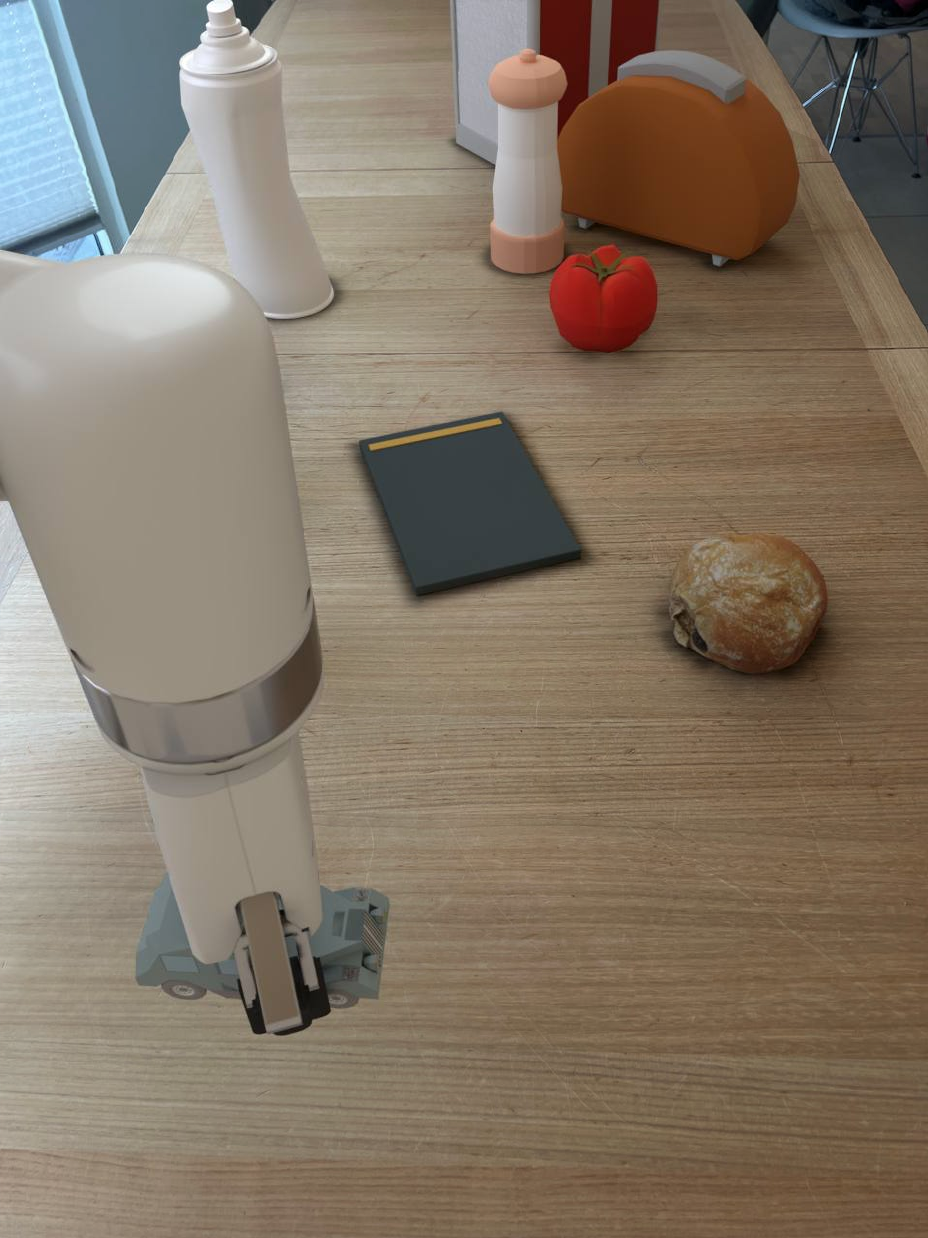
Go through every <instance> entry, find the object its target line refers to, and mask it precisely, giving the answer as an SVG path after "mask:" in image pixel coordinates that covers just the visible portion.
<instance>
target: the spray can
mask: <svg viewBox="0 0 928 1238" xmlns="http://www.w3.org/2000/svg"><path fill="white" fill-rule="evenodd" d="M206 12H207V17H208V22H207V23H206V24H205V28H206V30H205V31H203V32H202V33H201V34H200V36H199V39H200V42H201V43H200V44H199V45H198V46H196V47H197V48H194V49H192V50H189V51H188V52H185V54H183V55H182V56H181V57H180V59H179V63H178V64H179V67H180V70H179V88H180V89H179V91H180V106H181V108H182V111H183V114H184V116H185V120H186V122H187V126H188V128H189V131H190V134H191V137H192V140H193V142H194V144H195V147H196V151H197V153H198V156H199V159H200V162H201V164H202V167H203V170H204V174H205V175H206V179H207V181H208V184H209V187H210V189H211V190H210V191H211V194H212V198H213V201H214V206H215V210H216V214H217V219H218V221H219V226H220V231H221V235H222V240H223V243H224V247H225V252H226V255H227V260H228V263H229V264H228V265H229V268H230V271H231V274H232V276H233V278H234V279H235V280H236V281H238V282H239V283H240V284H241V285H242V286H243V287H244V288H245V289H246V290H247V291H248V292H249V293H250V294H251V295H252V297H253V298H254V299H255V300H256V301H257V303H258V304H259V306H260V308H261V309H262V311H263V312H264V314H265V317H266V318H267V319H268V318H269V319H274V320H275V319H276V320H293V319H299V318H304V317H309V316H312V315H315V314H316V313H319V312H321V311H323V310H324V309H326V308H327V307H328V306H329V305H331V303H332V301H333V300H334V297H335V292H334V288H333V286H332V283H331V280H330V277H329V274H328V271H327V268H326V265H325V262H324V259H323V256H322V253H321V252H320V251H321V250H320V249H319V246H318V243H317V241H316V239H315V236H314V234H313V231H312V229H311V226H310V223H309V221H308V218H307V216H306V213H305V211H304V209H303V205H302V203H301V201H300V198H299V195H298V194H297V190H296V188H295V186H294V183H293V180H292V178H291V170H290V162H289V161H290V160H289V153H288V142H287V133H286V123H285V122H286V121H285V113H284V104H283V65H282V63H281V61H280V60H279V54H278V52H277V50H276V49H275V48H273V47H271V46H270V45H266V44H263V43H261V42H259V40H257V39H256V38H254V37H252V36H250V33H251V32H250V30H249V29H248V28H247V27H245V26H242V21H241V19H240V18H237V17H236V13H235V7H234V2H233V0H212V1H210V2H208V3H207V5H206Z"/></svg>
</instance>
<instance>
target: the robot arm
mask: <svg viewBox="0 0 928 1238" xmlns="http://www.w3.org/2000/svg"><path fill="white" fill-rule="evenodd" d="M281 375H282V374H281V369H280V362H279V358H278V353H277V348H276V343H275V339H274V334H273V330H272V328H271V326H270V324H269V321H268V318H267V317H265V314H264V312H263V311H262V309H261V308H260V306H259V304H258V303H257V301H256V300H255V299H254V298H253V297H252V295H251V294H250V293H249V292H248V291H247V290H246V289H245V288H244V287H243V286H242V285H241V284H240V283H239V282H238V281H236V280H235V279H234V277H232V276H230V275H229V274H227V273H226V272H225V271H222V270H220V269H218V268H216V267H213V266H212V265H209V264H206V263H204V262H202V261H199V260H195V259H192V258H190V257H189V258H188V257H185V256H180V255H173V254H168V253H155V252H124V253H123V252H122V253H112V254H103V255H97V256H92V257H86V258H81V259H77V260H73V261H70V262H66V261H62V260H61V261H60V260H56V259H49V258H44V257H37V256H32V255H27V254H22V253H19V252H13V251H10V250H4V249H0V503H1V502H8V503H9V506H10V509H11V511H12V513H13V516H14V518H15V521H16V524H17V526H18V529H19V532H20V534H21V536H22V540H23V542H24V544H25V547H26V549H27V552H28V554H29V557H30V559H31V562H32V565H33V567H34V570H35V572H36V575H37V577H38V580H39V583H40V585H41V587H42V591H43V592H44V595H45V597H46V600H47V603H48V606H49V607H50V610H51V612H52V614H53V615H52V616H53V618H54V620H55V622H56V626H57V628H58V630H59V633H60V635H61V638H62V640H63V643H64V646H65V648H66V651H67V653H68V655H69V657H70V659H71V662H72V665H73V668H74V670H75V672H76V675H77V678H78V680H79V683H80V684H81V688H82V690H83V693H84V695H85V697H86V700H87V703H88V705H89V708H90V710H91V713H92V716H93V719H94V722H95V724H96V726H97V728H98V730H99V732H100V734H101V736H102V738H103V739H104V740H105V742H106V743H107V744H108V745H109V746H110V748H112V750H114V751H116V753H118V754H119V755H120V756H122V758H124V759H126V760H127V761H130V763H131V762H132V763H133V764H136V765H137V766H138V767H139V770H140V775H141V778H142V783H143V788H144V792H145V796H146V801H147V804H148V809H149V813H150V816H151V820H152V824H153V828H154V831H155V835H156V838H157V842H158V845H159V848H160V849H159V850H160V852H161V856H162V860H163V862H164V866H165V870H166V873H168V876H169V879H170V882H171V885H172V889H173V892H174V895H175V898H176V901H177V905H178V908H179V911H180V914H181V918H182V921H183V924H184V927H185V931H186V934H187V937H188V941H189V944H190V948H191V951H192V954H193V955H194V956H195V957H196V958H197V959H198V960H199V961H201V962H202V963H204V964H212V963H217V962H222V961H227V960H229V959H230V957H231V956H232V954H233V952H234V955H235V960H236V964H237V968H238V972H239V977H240V979H237V983H238V989H239V993H240V996H241V999H240V1000H241V1002H242V1004H243V1008H244V1010H245V1013H246V1016H247V1020H248V1023H249V1025H250V1028H251V1031H252V1033H253V1034H254V1035H265V1034H267V1035H271V1034H272V1035H275V1036H277V1037H284V1036H289V1035H292V1034H297V1033H299V1032H302V1031H305V1030H306V1029H309V1027H311V1025H312V1024H313V1021H314V1020H318V1019H321V1018H324V1017H326V1016H328V1015H330V1014H331V1012H332V1008H330V1003H329V998H328V994H327V989H326V984H325V980H324V975H323V970H322V966H321V961H320V957H317V958H316V957H315V956H313V955H312V951H311V946H310V942H309V937H308V932H307V931H310V936H313V935H314V933H315V932H316V931H317V929H318V928H319V926H320V924H321V922H322V920H323V913H322V902H321V892H320V885H321V883H320V882H321V881H320V874H319V873H320V872H319V864H318V856H317V846H316V838H315V830H314V829H315V828H314V821H313V813H312V807H311V800H310V799H311V798H310V793H309V786H308V780H307V775H306V774H307V773H306V768H305V767H306V766H305V762H304V754H303V748H302V742H301V735H300V730H302V728H303V727H304V726H305V724H306V723H307V722H308V720H309V719H310V718H311V717H312V714H313V713H314V711H315V709H316V707H317V706H318V704H319V702H320V699H321V697H322V692H323V689H324V685H325V666H324V657H323V652H322V651H323V650H322V644H321V637H320V632H319V631H320V629H319V625H318V617H317V610H316V604H315V598H314V594H313V593H314V592H313V585H312V579H311V572H310V564H309V558H308V557H309V556H308V550H307V544H306V543H307V542H306V537H305V530H304V524H303V517H302V516H303V515H302V510H301V504H300V496H299V489H298V483H297V477H296V470H295V462H294V456H293V450H292V442H291V436H290V430H289V422H288V416H287V415H288V414H287V410H286V409H287V408H286V402H285V396H284V395H285V394H284V389H283V381H282V376H281ZM278 899H280V900H281V905H282V909H281V910H279V906H278V902H277V900H278ZM292 935H294V939H295V944H296V948H297V953H298V955H297V956H294V957H290V958H289V954H288V949H287V945H286V940H285V937H289V936H292ZM298 957H299V959H298Z"/></svg>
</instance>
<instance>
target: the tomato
mask: <svg viewBox="0 0 928 1238" xmlns="http://www.w3.org/2000/svg"><path fill="white" fill-rule="evenodd" d="M587 252H588V254H587V255H585V254H580V253H578V254H573V255H569V256H568V257H566V259H565V260H564V261H563V262H561V263H560V264H559V266H557V268H556V270H555V272H554V274H553V276H552V278H551V280H550V283H549V284H550V285H549V292H548V299H549V300H548V301H549V308H550V311H551V313H552V316H553V319H554V322H555V324H556V327H557V330H558V333H559V336H560V337H561V338H562V339H563V340H564V341H566V342H567V343H568V345H570V346H571V347H572V348H573V349H577V350H579V351H581V352H584V353H586V352H590V353H591V352H592V353H604V354H613V353H616V352H621V351H623V350H626V349H628V348H630V347H631V346H633V345H634V344H636V342H637V341H638V340H639V338H640V337H641V336H642V335H643V334H645V333H646V332H647V331H648V330H650V328H651V326H652V325H653V323H654V321H655V317H656V314H657V308H658V303H659V302H658V301H659V300H658V299H659V296H658V294H659V293H658V282H657V279H656V276H655V272H654V270H653V268H652V267H651V265H650V263H649V261H647V260H646V259H645V258H644V256H629V257H625V256H627V255H629V254H630V253H632V250H629V251H627V252H624V253H621V251H620V250H619V249H618V248H617V246H616V245H615V244H608V245H602V246H600V247H598V248H596V249H595V250H594V251H592V252H591V251H589V250H587Z"/></svg>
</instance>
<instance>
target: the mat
mask: <svg viewBox="0 0 928 1238" xmlns="http://www.w3.org/2000/svg"><path fill="white" fill-rule="evenodd" d="M358 445H359V450H360V452H361V455H362V458H363V460H364V464H365V465H366V468H367V471H368V473H369V476H370V479H371V481H372V484H373V486H374V488H375V492H376V494H377V496H378V500H379V502H380V504H381V507H382V510H383V513H384V515H385V517H386V520H387V523H388V525H389V528H390V530H391V533H392V535H393V538H394V541H395V543H396V547H397V549H398V551H399V555H400V556H401V559H402V562H403V564H404V567H405V569H406V573H407V575H408V578H409V580H410V583H411V585H412V588H413V590H414V593H415V595H416V596H421V595H425V594H430V593H434V592H438V591H443V590H447V589H451V588H455V587H460V586H465V585H469V584H473V583H477V582H481V581H485V580H491V579H494V578H495V579H496V578H498V577H502V576H506V575H511V574H516V573H520V572H524V571H525V572H526V571H530V570H533V569H538V568H542V567H546V566H550V565H555V564H558V563H559V564H560V563H564V562H569V561H572V560H577V559H580V558H581V557H582V549H581V547H580V545H579V543H578V541H577V540H576V538H575V536H574V534H573V533H572V531H571V530H570V528H569V526H568V524H567V522H566V521H565V519H564V517H563V515H562V513H561V512H560V510H559V508H558V507H557V504H556V502H555V501H554V499H553V498H552V496H551V494H550V493H549V490H548V489H547V487H546V486H545V484H544V482H543V480H542V479H541V476H540V475H539V473H538V471H537V470H536V468H535V466H534V464H533V462H532V461H531V459H530V458H529V456H528V454H527V452H526V451H525V449H524V447H523V445H522V444H521V442H520V440H519V438H518V437H517V435H516V433H515V431H514V429H513V428H512V426H511V424H510V422H509V421H508V419H507V417H506V416H505V414H504V411H497V412H492V413H488V414H483V415H478V416H477V415H476V416H472V417H468V418H463V419H458V420H453V421H448V422H442V423H438V424H434V425H428V426H424V427H423V426H422V427H419V428H413V429H408V430H403V431H400V432H393V433H389V434H383V435H380V436H375V437H369V438H364V439H360V440H358Z"/></svg>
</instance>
